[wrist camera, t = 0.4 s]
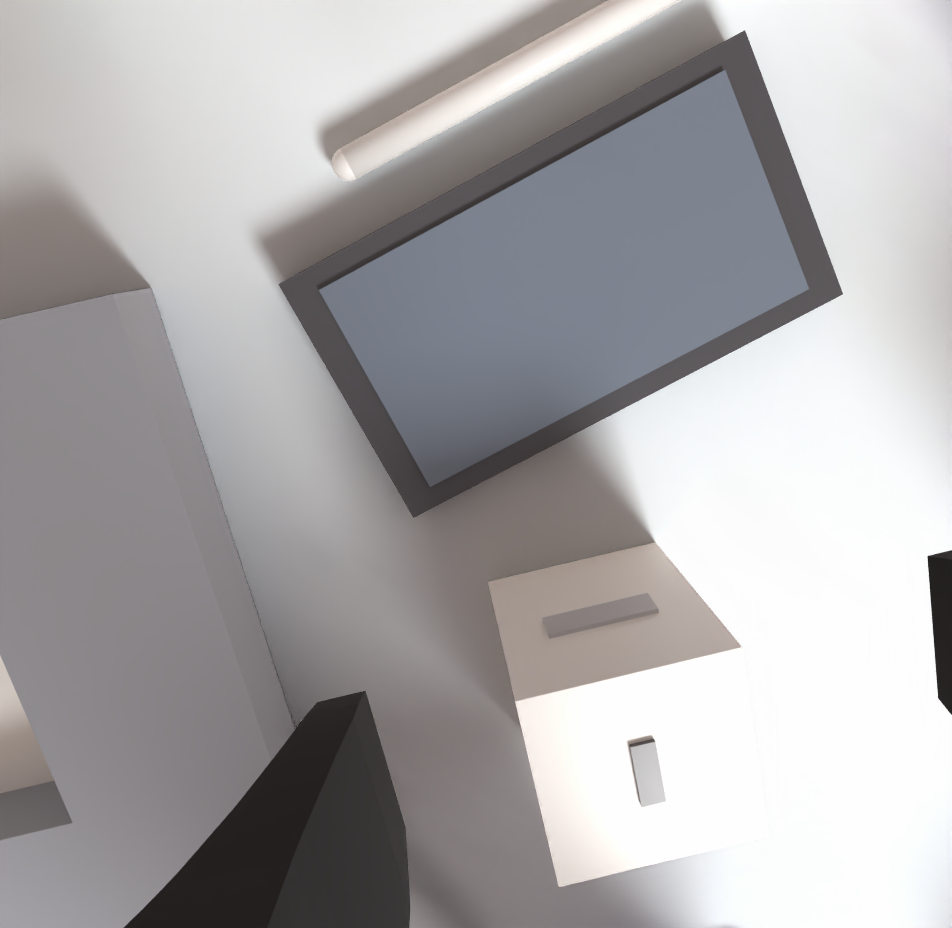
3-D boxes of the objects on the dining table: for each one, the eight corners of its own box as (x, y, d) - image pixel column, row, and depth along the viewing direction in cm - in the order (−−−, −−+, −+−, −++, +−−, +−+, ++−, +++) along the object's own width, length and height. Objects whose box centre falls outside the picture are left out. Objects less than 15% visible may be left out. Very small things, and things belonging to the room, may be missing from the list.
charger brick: (679, 689, 22) (770, 839, 16) (521, 727, 22) (559, 891, 16) (654, 537, 20) (743, 645, 15) (486, 577, 20) (514, 699, 15)
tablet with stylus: (892, 254, 19) (920, 255, 18) (413, 504, 20) (413, 518, 19) (773, -89, 17) (797, -111, 16) (241, 205, 18) (230, 202, 16)
